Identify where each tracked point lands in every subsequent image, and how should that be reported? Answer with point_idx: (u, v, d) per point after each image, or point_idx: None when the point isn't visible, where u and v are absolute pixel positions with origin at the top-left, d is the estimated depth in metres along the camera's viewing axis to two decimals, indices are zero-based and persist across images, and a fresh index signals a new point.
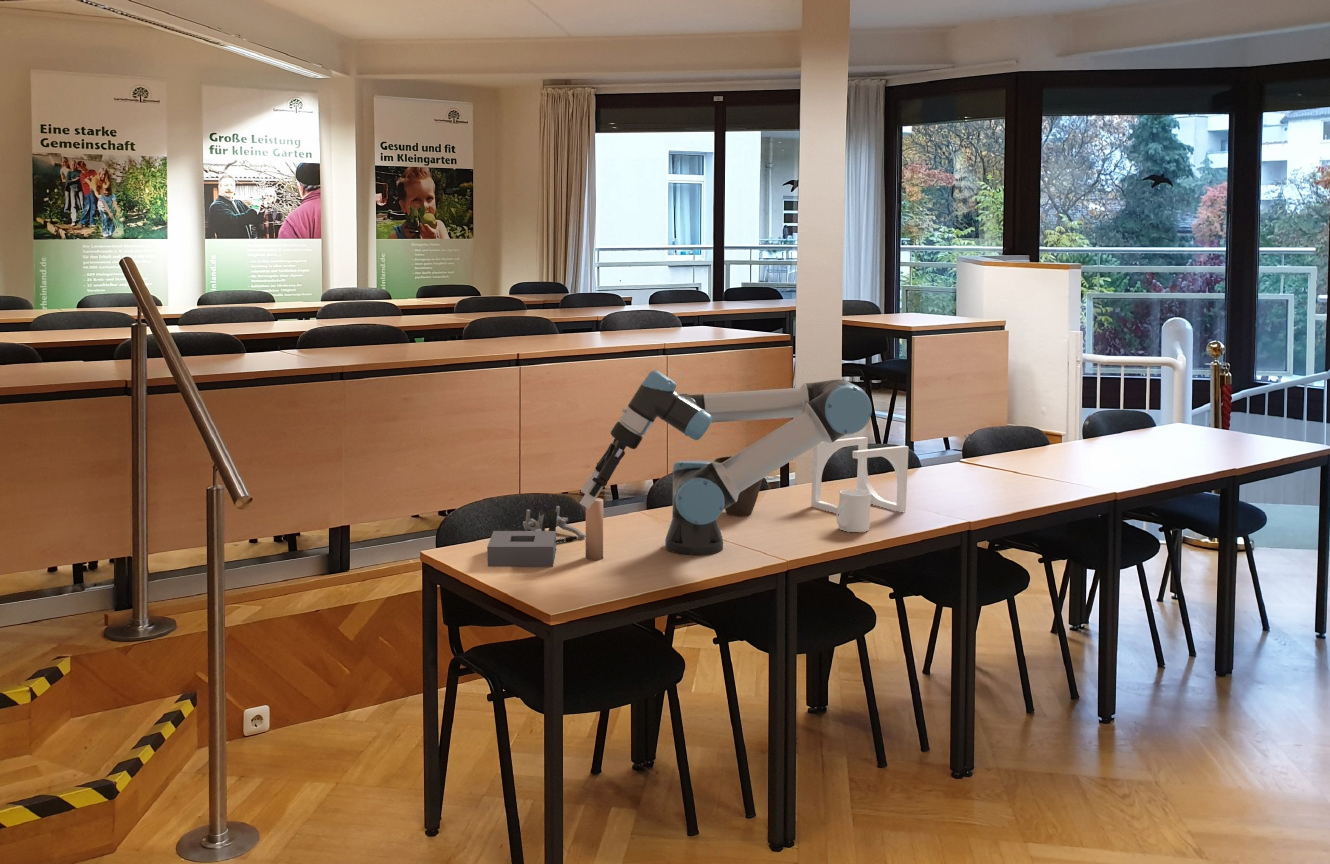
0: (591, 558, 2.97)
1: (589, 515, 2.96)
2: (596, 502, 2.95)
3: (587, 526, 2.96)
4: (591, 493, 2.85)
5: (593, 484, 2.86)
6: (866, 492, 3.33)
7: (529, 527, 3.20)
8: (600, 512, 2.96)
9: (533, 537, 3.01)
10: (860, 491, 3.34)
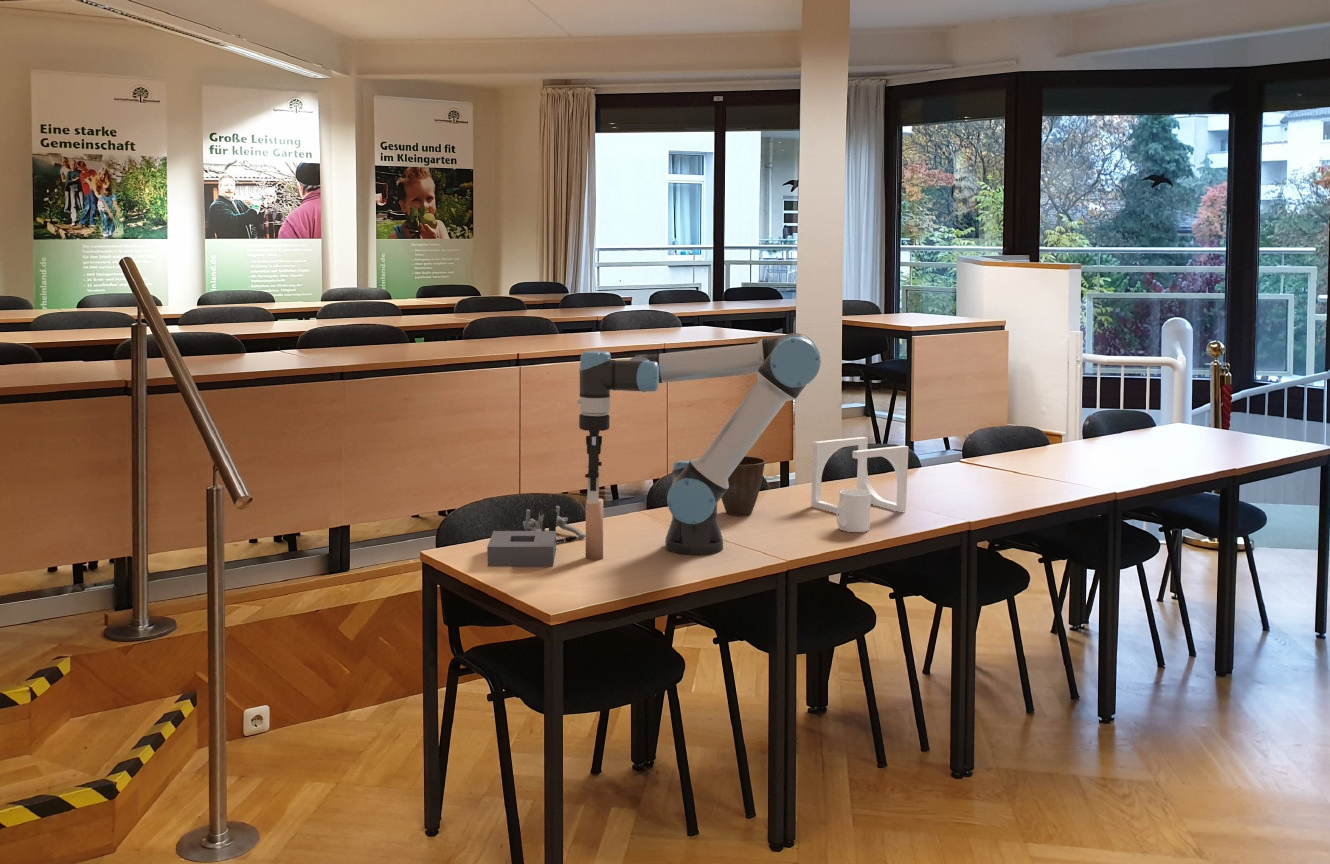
0: (591, 558, 2.97)
1: (589, 515, 2.95)
2: None
3: (587, 526, 2.96)
4: (591, 489, 2.88)
5: (589, 480, 2.89)
6: (866, 492, 3.33)
7: (529, 527, 3.20)
8: (600, 512, 2.96)
9: (533, 537, 3.01)
10: (860, 491, 3.34)
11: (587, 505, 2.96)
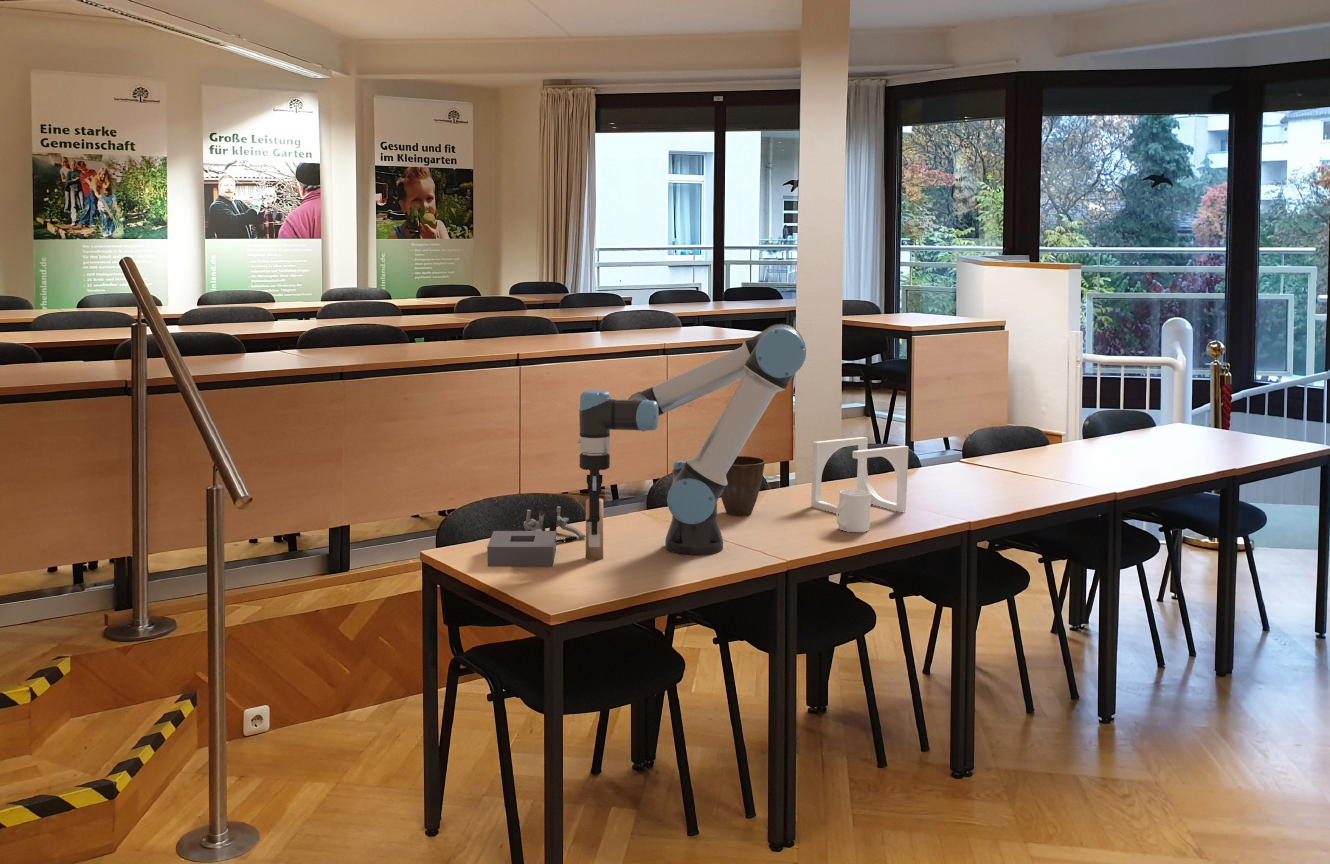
0: (591, 558, 2.97)
1: None
2: None
3: (587, 526, 2.96)
4: (592, 533, 2.94)
5: (590, 524, 2.95)
6: (866, 492, 3.33)
7: (529, 527, 3.20)
8: (600, 512, 2.96)
9: (533, 537, 3.01)
10: (860, 491, 3.34)
11: (587, 505, 2.96)
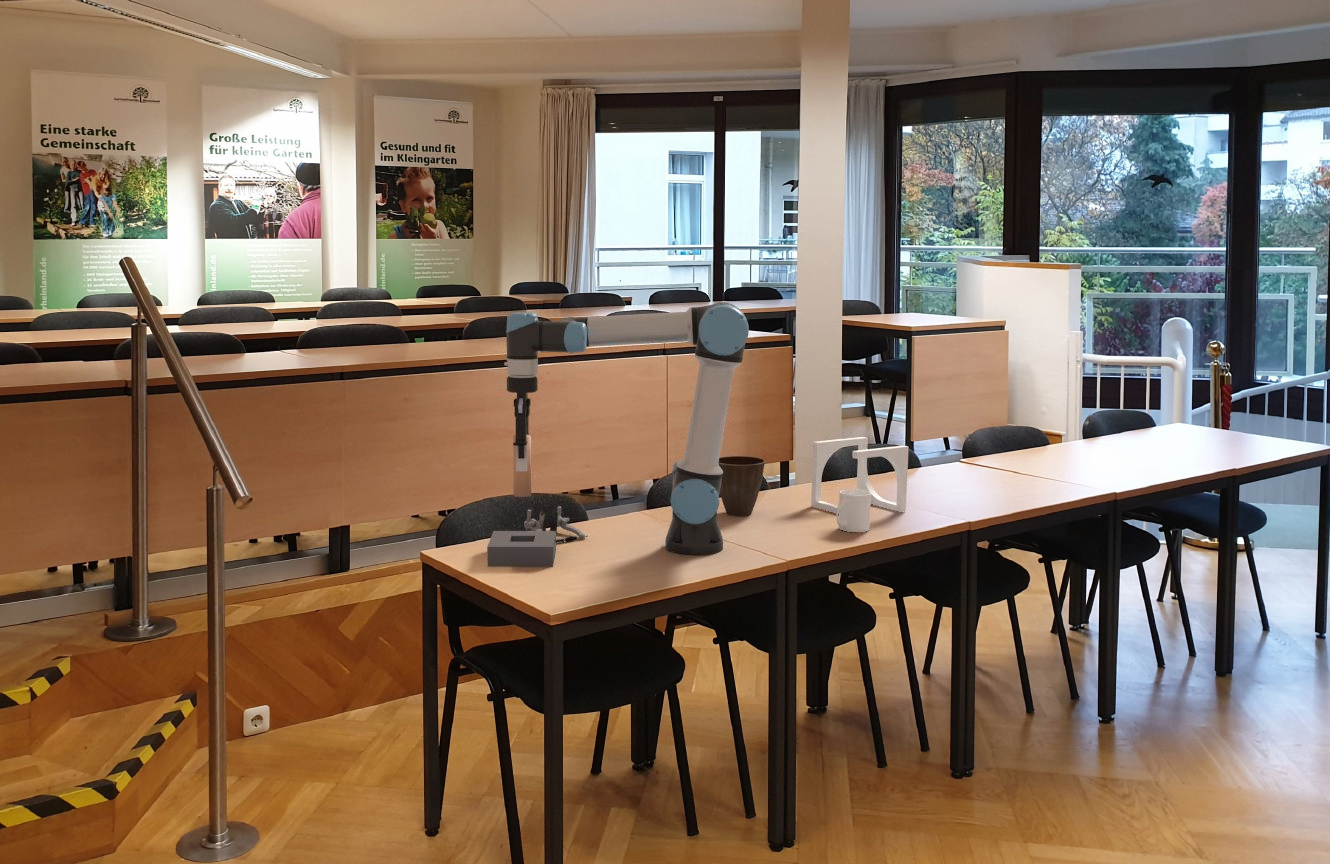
0: (519, 495, 2.94)
1: None
2: None
3: (514, 462, 2.93)
4: (519, 456, 2.90)
5: (517, 448, 2.91)
6: (866, 492, 3.33)
7: (530, 527, 3.20)
8: (527, 448, 2.92)
9: (533, 537, 3.01)
10: (860, 491, 3.34)
11: (514, 441, 2.92)
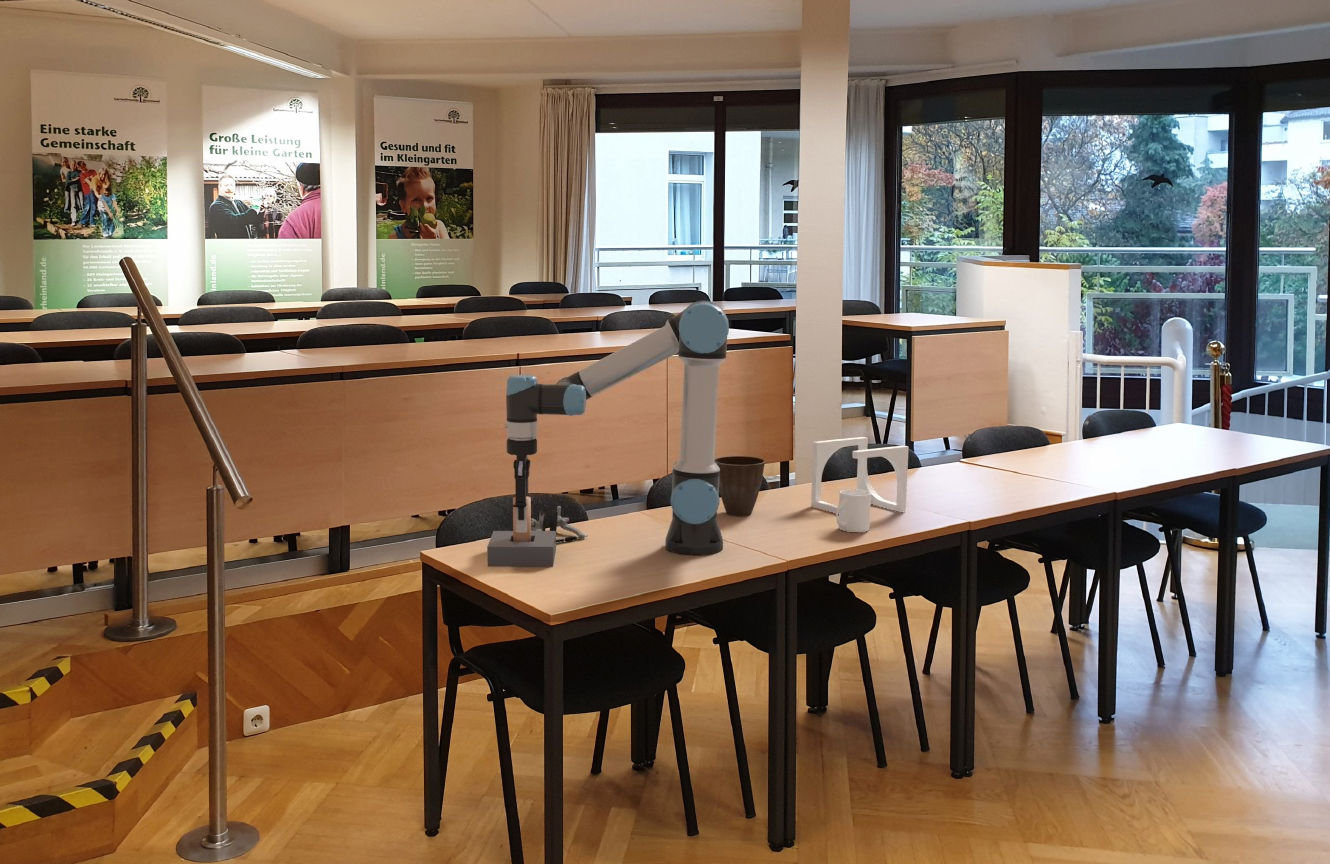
0: None
1: None
2: None
3: (514, 524, 2.95)
4: (519, 518, 2.93)
5: (517, 509, 2.93)
6: (866, 492, 3.33)
7: None
8: (527, 510, 2.95)
9: (533, 537, 3.01)
10: (860, 491, 3.34)
11: (514, 503, 2.95)
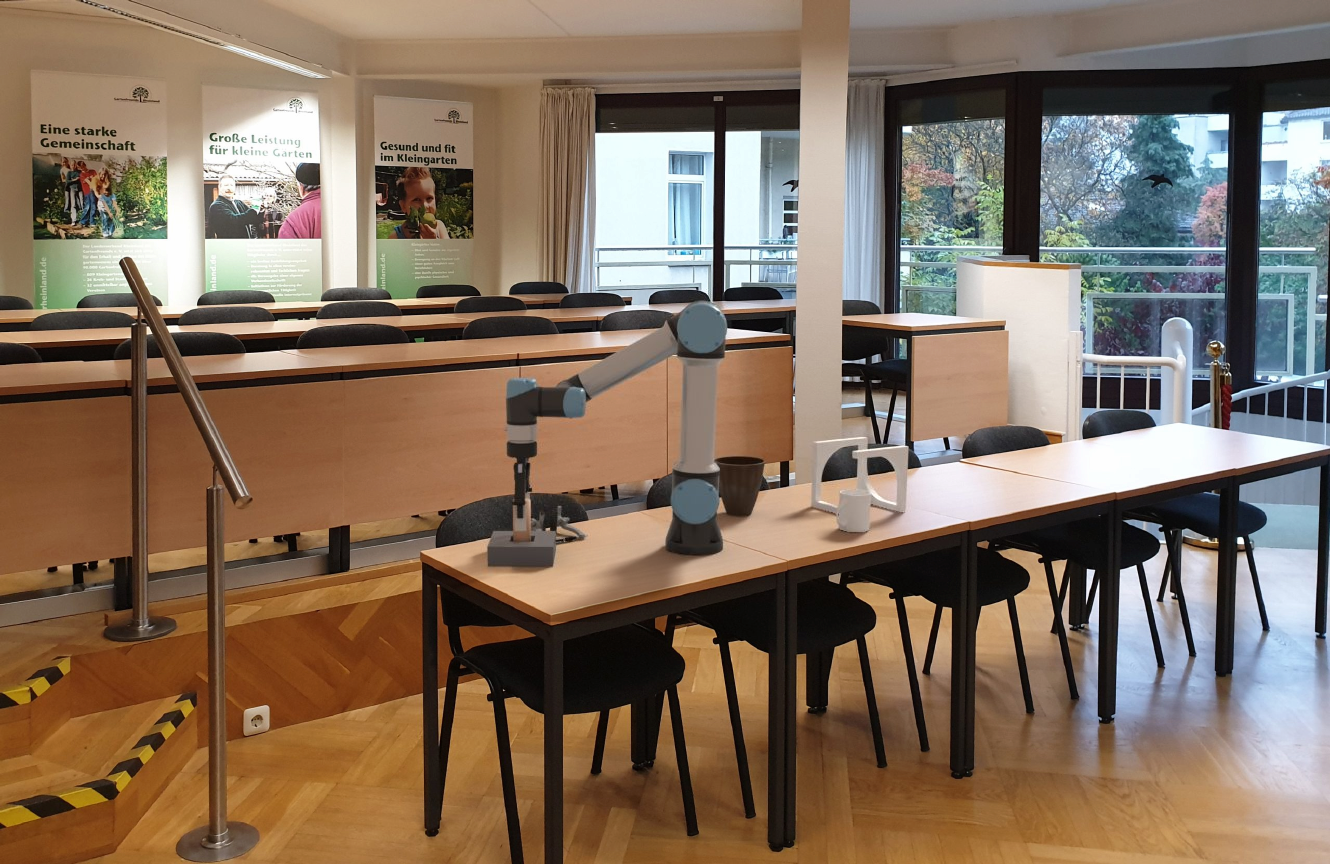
0: None
1: None
2: None
3: (514, 526, 2.96)
4: (518, 516, 2.88)
5: (516, 508, 2.89)
6: (866, 492, 3.33)
7: None
8: (527, 512, 2.95)
9: (533, 537, 3.01)
10: (860, 491, 3.34)
11: (514, 505, 2.95)
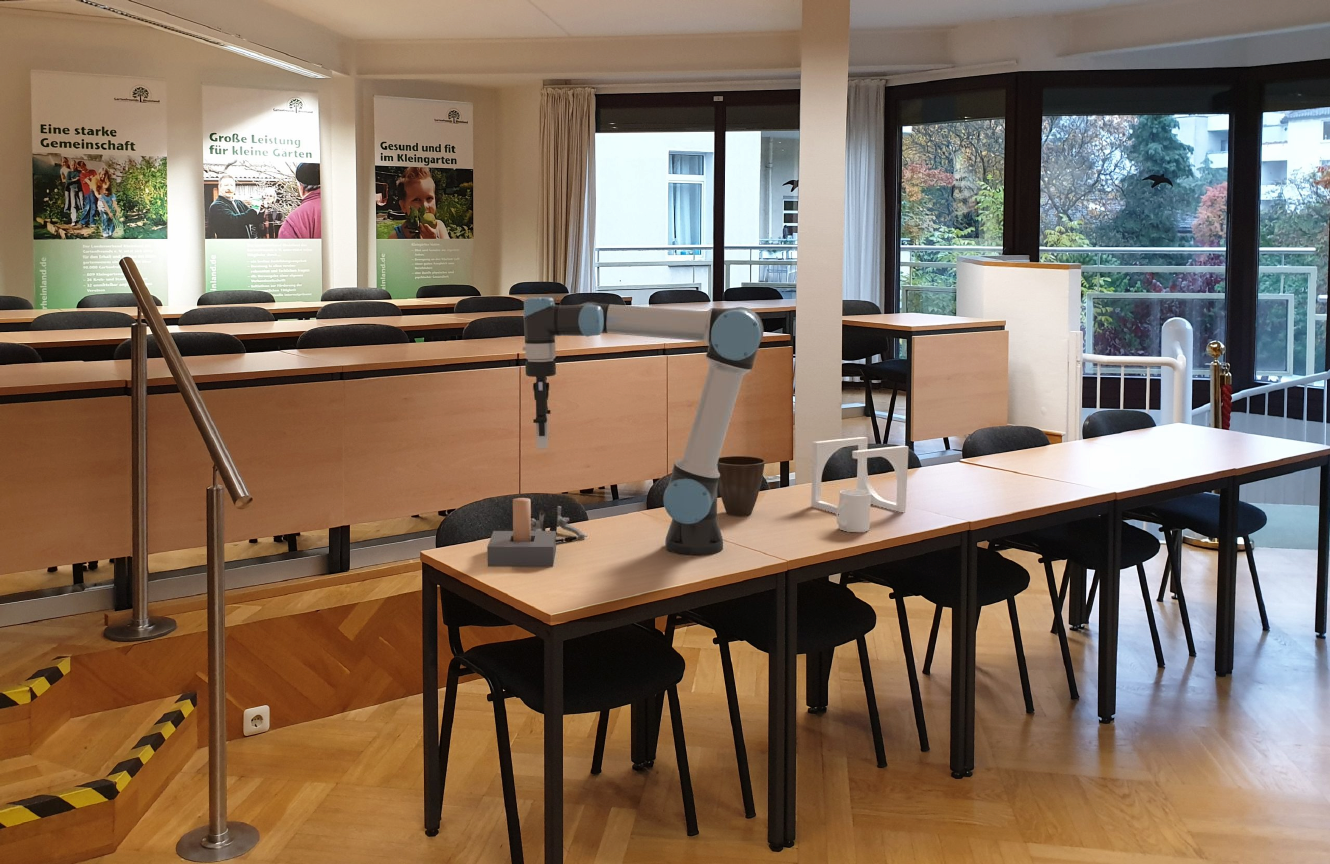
0: None
1: (516, 515, 2.95)
2: (523, 502, 2.94)
3: (514, 526, 2.96)
4: (540, 434, 2.89)
5: (537, 425, 2.90)
6: (866, 492, 3.33)
7: None
8: (527, 512, 2.95)
9: (533, 537, 3.01)
10: (860, 491, 3.34)
11: (514, 505, 2.95)
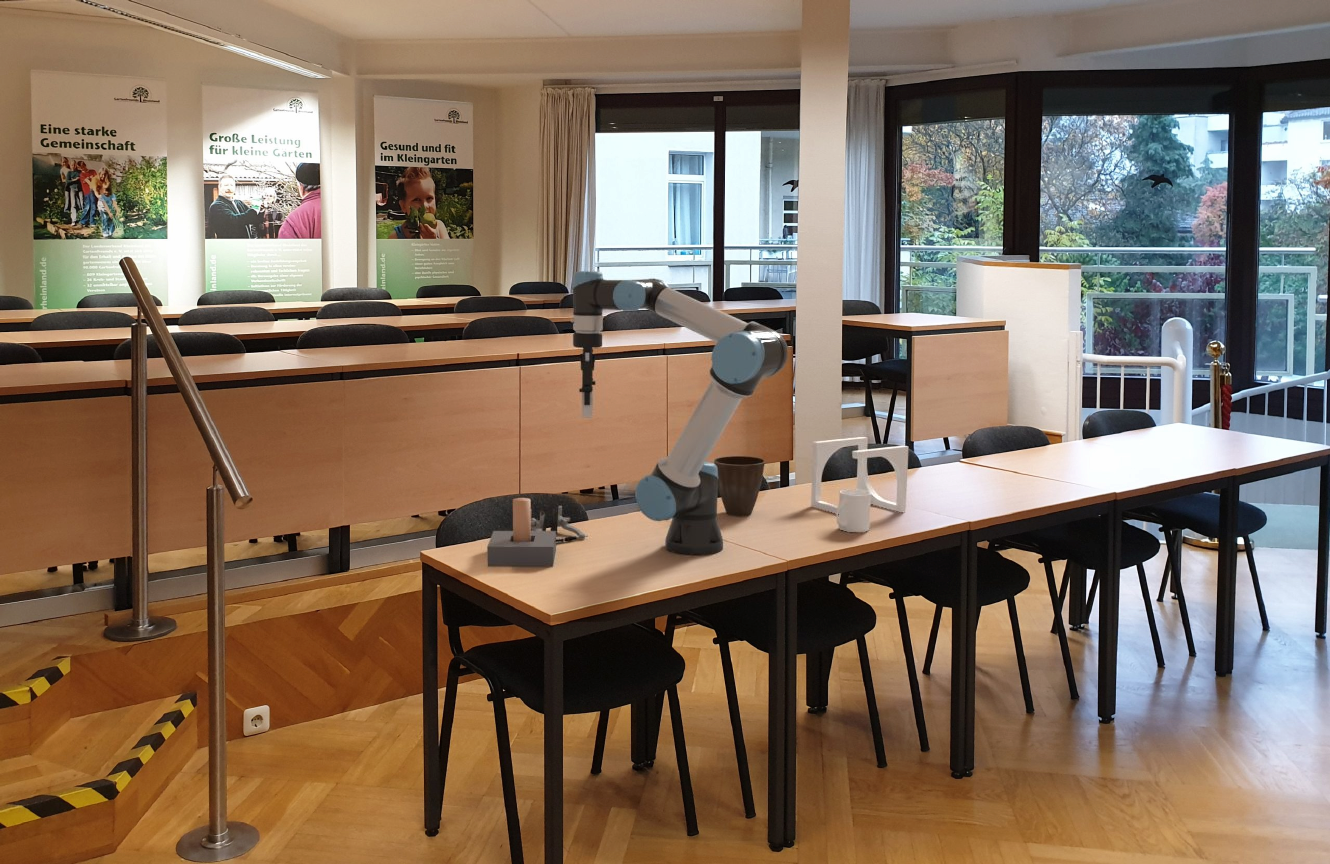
0: None
1: (516, 515, 2.95)
2: (523, 502, 2.94)
3: (514, 526, 2.96)
4: (585, 403, 2.99)
5: (583, 395, 2.99)
6: (866, 492, 3.33)
7: None
8: (527, 512, 2.95)
9: (533, 537, 3.01)
10: (860, 491, 3.34)
11: (514, 505, 2.95)
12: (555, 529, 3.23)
